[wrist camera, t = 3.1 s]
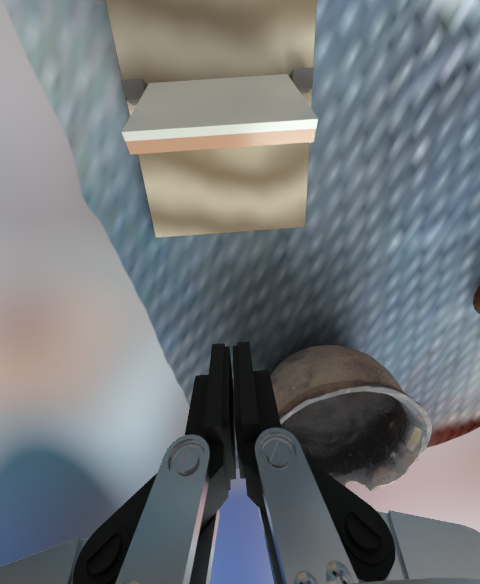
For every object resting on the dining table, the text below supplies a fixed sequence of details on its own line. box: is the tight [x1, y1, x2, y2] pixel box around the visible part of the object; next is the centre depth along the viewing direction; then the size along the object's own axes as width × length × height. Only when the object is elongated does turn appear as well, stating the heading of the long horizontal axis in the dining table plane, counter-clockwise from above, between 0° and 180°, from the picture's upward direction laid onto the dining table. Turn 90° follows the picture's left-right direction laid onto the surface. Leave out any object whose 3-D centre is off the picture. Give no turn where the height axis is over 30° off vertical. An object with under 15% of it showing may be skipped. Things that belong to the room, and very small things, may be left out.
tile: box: [122, 74, 318, 155], centre depth 21 cm, size 13×14×2 cm
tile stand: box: [106, 0, 317, 238], centre depth 24 cm, size 30×20×4 cm, turn 4°
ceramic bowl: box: [270, 345, 432, 491], centre depth 37 cm, size 22×22×15 cm
